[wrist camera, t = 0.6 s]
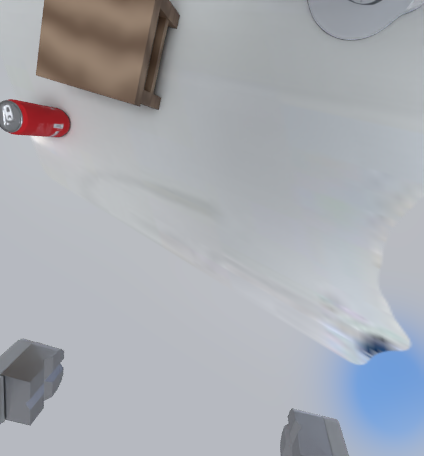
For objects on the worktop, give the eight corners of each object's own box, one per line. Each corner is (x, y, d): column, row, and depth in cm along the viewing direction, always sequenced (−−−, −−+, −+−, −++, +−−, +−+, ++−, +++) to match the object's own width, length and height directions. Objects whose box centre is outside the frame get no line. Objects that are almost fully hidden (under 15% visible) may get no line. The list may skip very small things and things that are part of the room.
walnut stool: (94, -11, 53) (50, -51, 42) (183, 12, 51) (159, -24, 40) (79, 88, 57) (35, 75, 47) (160, 113, 55) (134, 104, 45)
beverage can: (50, 138, 60) (-2, 135, 49) (45, 110, 59) (-10, 100, 48) (74, 136, 59) (26, 132, 48) (69, 107, 58) (19, 96, 47)
